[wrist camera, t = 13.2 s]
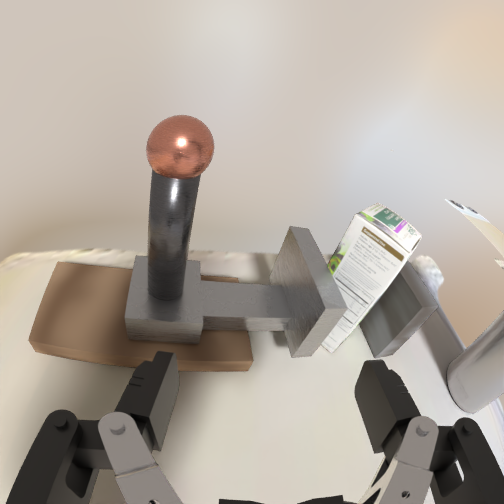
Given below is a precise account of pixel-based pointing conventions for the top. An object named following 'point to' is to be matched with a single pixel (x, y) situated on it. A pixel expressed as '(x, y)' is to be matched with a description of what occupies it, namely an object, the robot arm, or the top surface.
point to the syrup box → (368, 264)
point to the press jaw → (209, 292)
